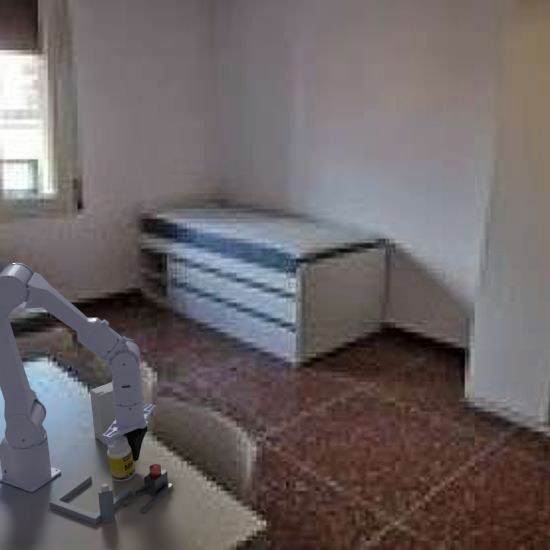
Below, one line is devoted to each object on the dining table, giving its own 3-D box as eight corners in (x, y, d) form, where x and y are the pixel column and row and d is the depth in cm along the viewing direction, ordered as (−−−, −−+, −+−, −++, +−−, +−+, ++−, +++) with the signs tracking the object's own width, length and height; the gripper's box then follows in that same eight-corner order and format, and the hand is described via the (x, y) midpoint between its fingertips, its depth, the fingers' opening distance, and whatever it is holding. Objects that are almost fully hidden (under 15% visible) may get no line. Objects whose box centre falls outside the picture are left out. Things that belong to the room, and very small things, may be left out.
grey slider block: (145, 493, 131) (143, 470, 130) (157, 482, 135) (156, 460, 133) (155, 497, 130) (154, 473, 129) (168, 486, 134) (166, 463, 132)
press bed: (49, 507, 127) (45, 474, 125) (87, 479, 136) (84, 448, 134) (103, 527, 121) (100, 493, 119) (139, 497, 130) (137, 465, 128)
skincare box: (117, 428, 156) (113, 380, 153) (127, 435, 153) (123, 386, 149) (93, 437, 152) (88, 388, 149) (103, 444, 149) (98, 395, 145)
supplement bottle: (130, 483, 135) (123, 450, 131) (108, 481, 136) (100, 448, 132) (139, 467, 139) (132, 434, 135) (117, 465, 140) (110, 432, 136)
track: (123, 505, 128) (123, 502, 127) (152, 481, 135) (152, 477, 135) (144, 513, 125) (144, 509, 125) (173, 487, 133) (172, 484, 133)
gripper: (120, 420, 127) (126, 482, 131) (166, 389, 140) (170, 447, 144) (91, 412, 131) (98, 473, 134) (139, 382, 143) (143, 439, 147)
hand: (133, 459), depth 139 cm, fingers closed
